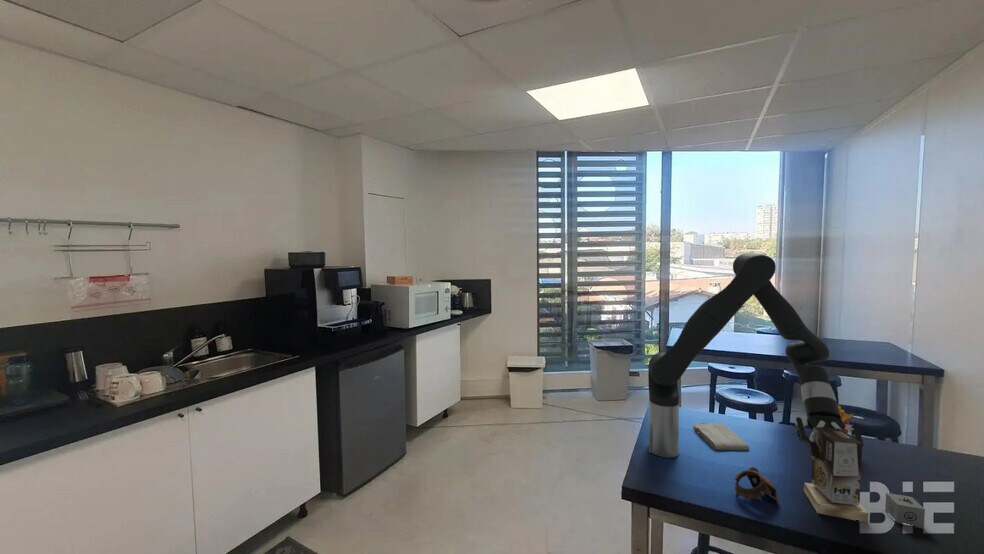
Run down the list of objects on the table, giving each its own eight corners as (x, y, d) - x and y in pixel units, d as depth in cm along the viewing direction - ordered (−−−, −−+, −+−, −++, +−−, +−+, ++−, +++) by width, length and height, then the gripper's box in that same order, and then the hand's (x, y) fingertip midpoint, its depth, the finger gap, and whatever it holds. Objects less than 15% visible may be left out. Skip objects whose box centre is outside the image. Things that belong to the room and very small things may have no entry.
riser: (817, 513, 100) (817, 503, 100) (803, 490, 110) (804, 481, 109) (867, 522, 96) (868, 512, 96) (849, 499, 106) (849, 489, 105)
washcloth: (722, 428, 150) (722, 420, 150) (751, 452, 132) (751, 443, 132) (690, 428, 150) (690, 420, 150) (715, 452, 132) (715, 443, 132)
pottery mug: (786, 515, 101) (771, 489, 100) (747, 519, 105) (732, 495, 104) (774, 479, 111) (761, 456, 110) (739, 485, 116) (725, 462, 115)
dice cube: (923, 528, 94) (924, 509, 94) (896, 523, 96) (897, 504, 96) (910, 515, 99) (911, 496, 98) (885, 511, 101) (886, 492, 100)
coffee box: (860, 505, 98) (864, 443, 97) (831, 502, 99) (834, 441, 98) (836, 484, 107) (839, 427, 106) (809, 481, 108) (812, 425, 107)
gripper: (792, 392, 112) (805, 451, 102) (856, 399, 107) (876, 461, 97) (786, 403, 118) (797, 460, 108) (846, 410, 112) (864, 470, 102)
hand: (835, 460), depth 102 cm, fingers closed on coffee box, 7 cm apart
